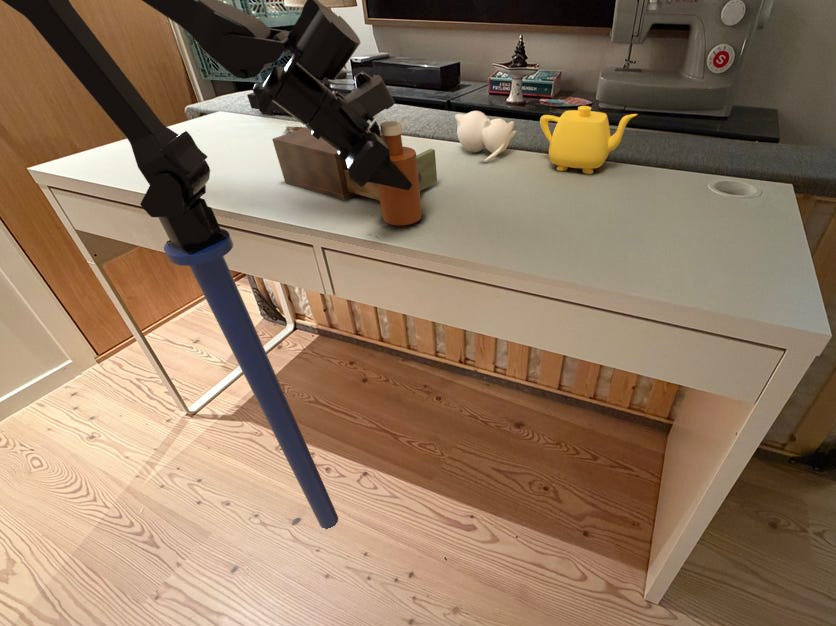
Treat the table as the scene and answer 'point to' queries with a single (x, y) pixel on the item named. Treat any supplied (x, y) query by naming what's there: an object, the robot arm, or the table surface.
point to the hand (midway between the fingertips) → (406, 179)
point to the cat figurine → (483, 133)
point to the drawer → (425, 176)
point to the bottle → (400, 202)
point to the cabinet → (311, 163)
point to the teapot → (582, 138)
